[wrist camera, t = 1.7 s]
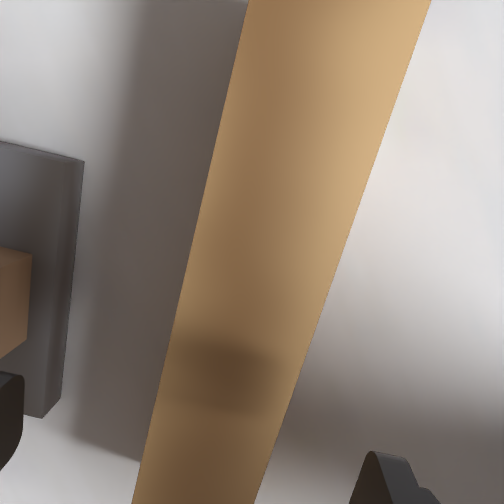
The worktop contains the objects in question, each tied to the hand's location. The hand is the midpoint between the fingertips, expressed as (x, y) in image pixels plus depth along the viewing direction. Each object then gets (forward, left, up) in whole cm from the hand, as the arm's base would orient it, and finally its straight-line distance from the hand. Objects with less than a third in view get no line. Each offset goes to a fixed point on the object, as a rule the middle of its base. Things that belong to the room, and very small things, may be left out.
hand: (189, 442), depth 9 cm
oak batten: (-1, -1, -9) cm, 9 cm away
